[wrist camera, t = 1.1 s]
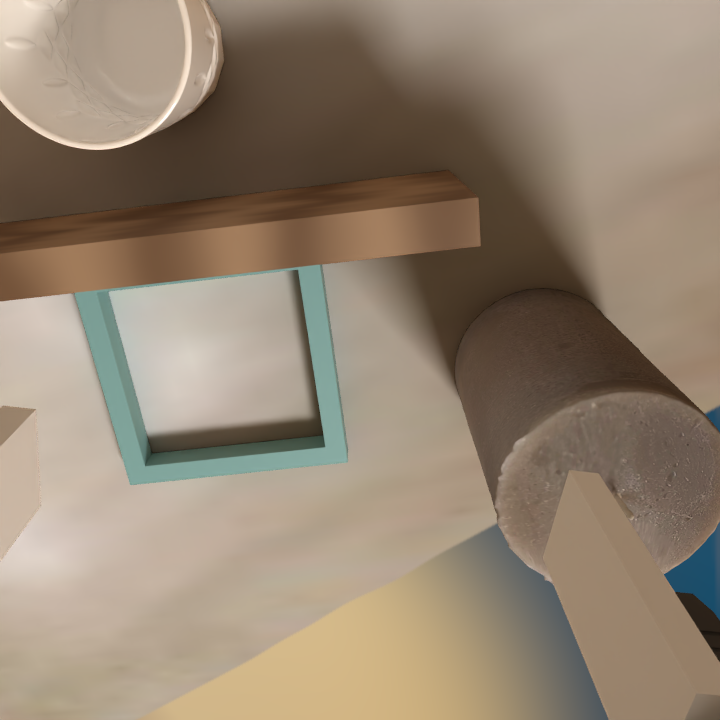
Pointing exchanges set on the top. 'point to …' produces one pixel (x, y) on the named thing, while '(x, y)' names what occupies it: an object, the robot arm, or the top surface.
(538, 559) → the pillar candle
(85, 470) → the top surface
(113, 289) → the keeper frame
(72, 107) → the white cup
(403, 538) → the top surface
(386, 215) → the brown wooden board
